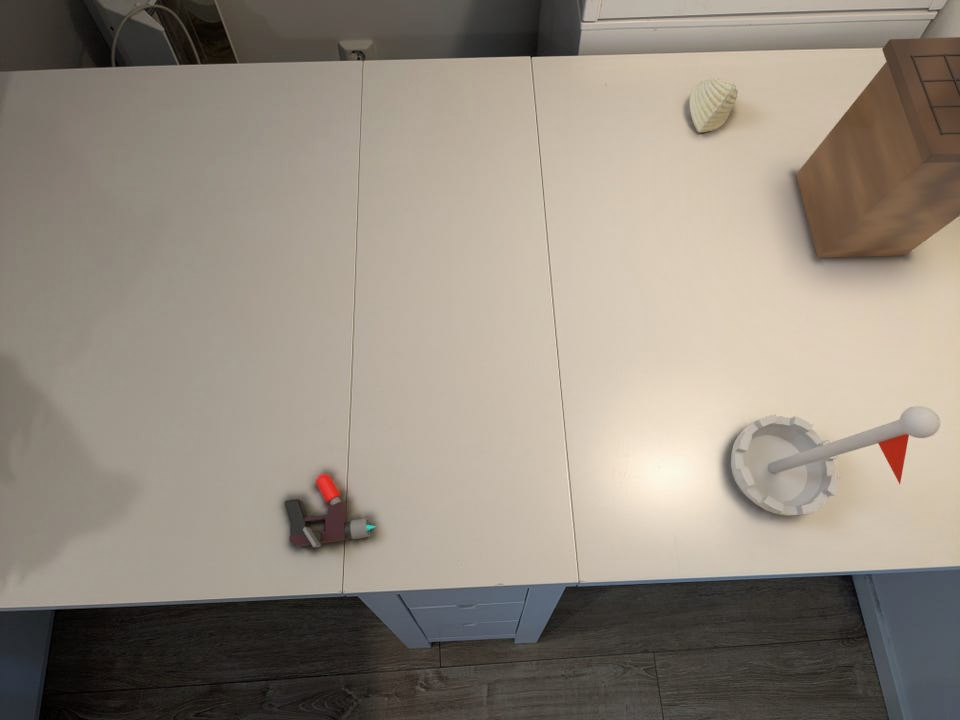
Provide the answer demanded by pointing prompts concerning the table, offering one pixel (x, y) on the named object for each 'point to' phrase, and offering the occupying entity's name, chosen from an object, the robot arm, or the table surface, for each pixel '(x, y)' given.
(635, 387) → the table surface
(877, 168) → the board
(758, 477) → the flag stand
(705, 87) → the seashell
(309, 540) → the toy gun
